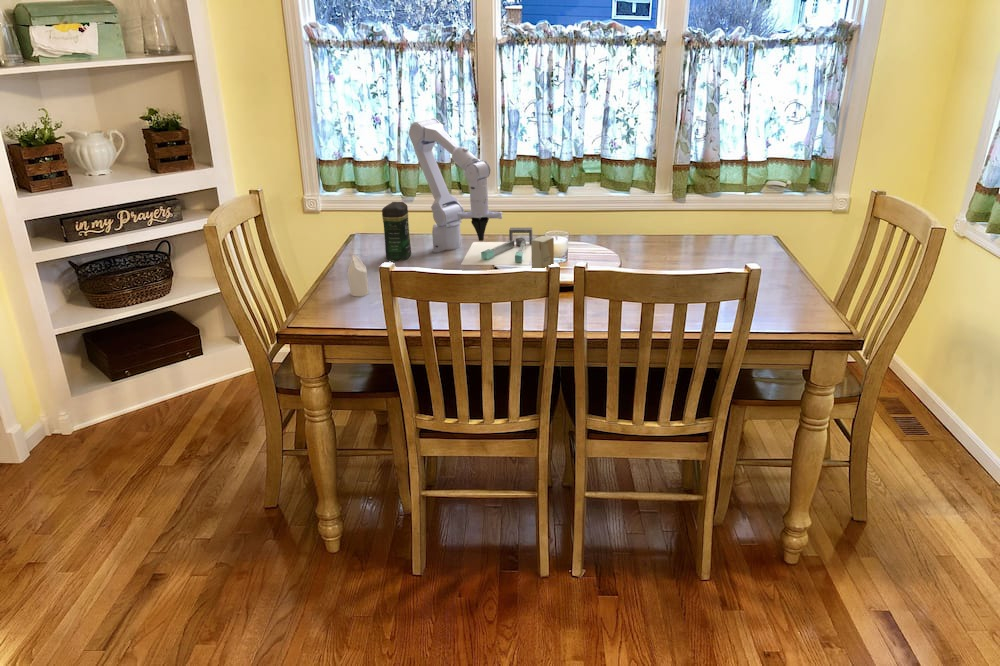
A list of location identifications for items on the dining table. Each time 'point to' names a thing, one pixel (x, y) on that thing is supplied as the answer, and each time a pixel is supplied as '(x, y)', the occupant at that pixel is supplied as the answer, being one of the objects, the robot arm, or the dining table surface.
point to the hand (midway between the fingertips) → (481, 239)
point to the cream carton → (358, 277)
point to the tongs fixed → (520, 249)
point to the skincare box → (542, 251)
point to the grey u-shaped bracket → (520, 230)
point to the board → (500, 259)
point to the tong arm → (496, 250)
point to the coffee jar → (396, 231)
